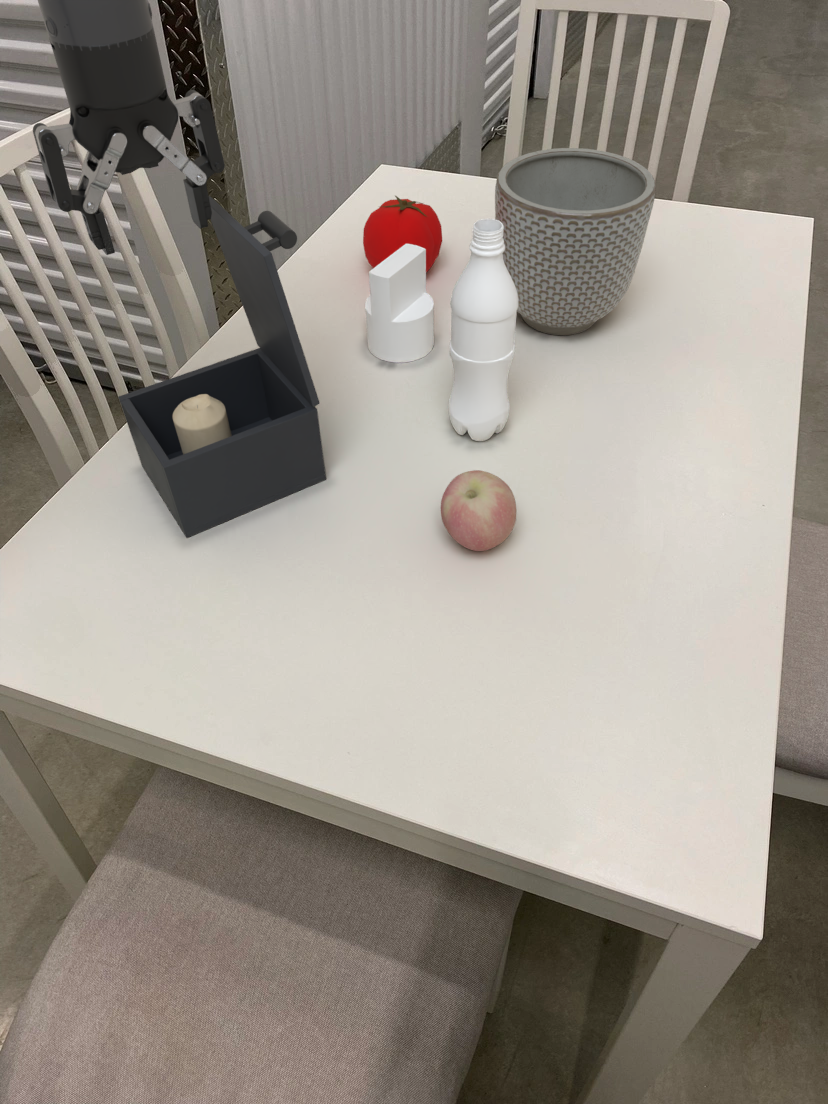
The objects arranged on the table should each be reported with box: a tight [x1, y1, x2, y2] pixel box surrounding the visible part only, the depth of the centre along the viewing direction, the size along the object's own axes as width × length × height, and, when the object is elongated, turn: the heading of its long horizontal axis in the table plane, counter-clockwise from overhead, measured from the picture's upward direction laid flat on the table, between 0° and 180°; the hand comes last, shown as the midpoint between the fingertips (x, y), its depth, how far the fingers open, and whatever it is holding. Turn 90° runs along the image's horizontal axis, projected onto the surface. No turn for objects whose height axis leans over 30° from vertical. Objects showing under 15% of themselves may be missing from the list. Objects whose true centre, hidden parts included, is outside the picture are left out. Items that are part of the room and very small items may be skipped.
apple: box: [440, 469, 517, 552], centre depth 83 cm, size 8×8×8 cm
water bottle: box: [448, 218, 518, 442], centre depth 89 cm, size 7×7×25 cm
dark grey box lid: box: [208, 195, 320, 407], centre depth 83 cm, size 18×14×5 cm
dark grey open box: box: [117, 347, 327, 539], centre depth 90 cm, size 17×14×10 cm
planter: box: [494, 147, 656, 336], centre depth 108 cm, size 20×20×19 cm
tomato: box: [362, 195, 443, 273], centre depth 120 cm, size 12×12×11 cm
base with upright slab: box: [364, 244, 435, 364], centre depth 106 cm, size 9×9×12 cm
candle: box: [173, 394, 232, 454], centre depth 88 cm, size 6×6×10 cm
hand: (154, 237), depth 72 cm, fingers open, 8 cm apart
